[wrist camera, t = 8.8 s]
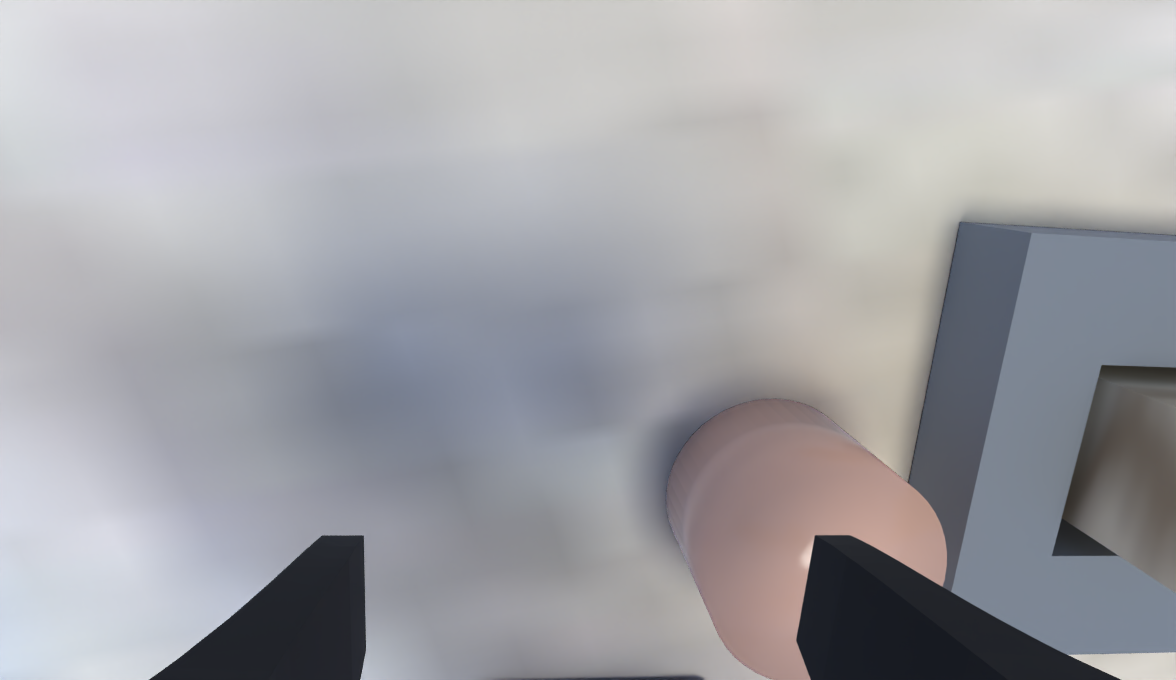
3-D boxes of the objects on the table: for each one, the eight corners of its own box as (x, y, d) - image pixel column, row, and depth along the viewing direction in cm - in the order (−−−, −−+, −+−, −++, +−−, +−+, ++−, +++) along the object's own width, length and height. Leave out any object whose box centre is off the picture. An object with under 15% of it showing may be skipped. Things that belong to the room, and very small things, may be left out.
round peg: (839, 576, 24) (922, 681, 19) (657, 578, 23) (696, 687, 19) (870, 400, 23) (969, 467, 18) (675, 395, 22) (723, 465, 17)
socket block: (1190, 594, 26) (1275, 649, 23) (885, 598, 25) (936, 657, 22) (1303, 243, 23) (1418, 256, 20) (960, 222, 21) (1031, 232, 18)
